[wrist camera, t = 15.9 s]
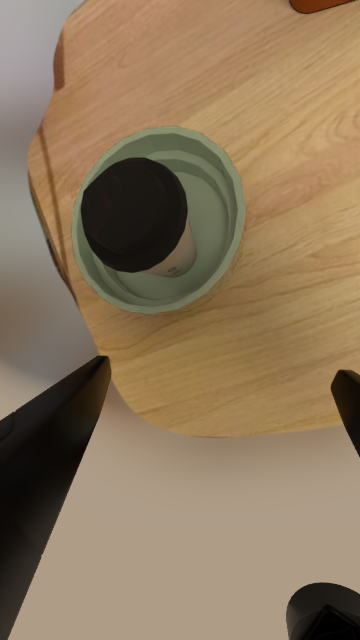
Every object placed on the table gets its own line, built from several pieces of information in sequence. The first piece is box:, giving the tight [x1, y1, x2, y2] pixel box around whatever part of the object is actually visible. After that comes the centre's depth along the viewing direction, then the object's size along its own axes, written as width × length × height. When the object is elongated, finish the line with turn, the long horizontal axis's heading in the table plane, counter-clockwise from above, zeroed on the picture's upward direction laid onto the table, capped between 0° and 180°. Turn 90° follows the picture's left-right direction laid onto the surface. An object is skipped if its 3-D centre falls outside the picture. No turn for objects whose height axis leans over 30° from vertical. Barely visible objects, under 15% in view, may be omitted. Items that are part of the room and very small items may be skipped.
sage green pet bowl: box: [71, 126, 246, 315], centre depth 21 cm, size 15×15×4 cm
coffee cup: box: [80, 157, 196, 278], centre depth 17 cm, size 7×7×10 cm
